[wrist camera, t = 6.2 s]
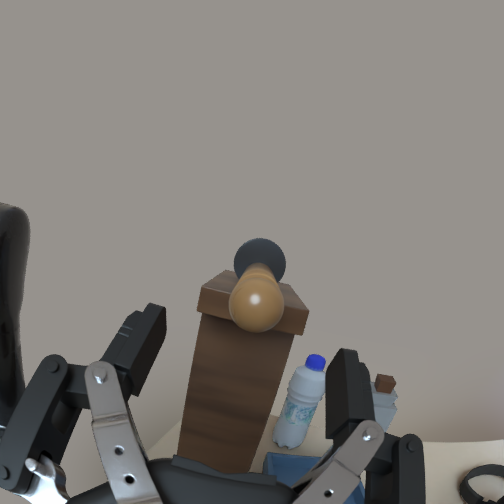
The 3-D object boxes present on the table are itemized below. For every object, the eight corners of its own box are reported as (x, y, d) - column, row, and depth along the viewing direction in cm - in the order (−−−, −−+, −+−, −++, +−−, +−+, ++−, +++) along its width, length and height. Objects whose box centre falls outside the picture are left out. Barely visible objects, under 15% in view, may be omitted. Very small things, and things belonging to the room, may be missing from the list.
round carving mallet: (306, 345, 11) (322, 236, 11) (198, 332, 11) (209, 222, 11) (276, 281, 32) (281, 242, 32) (238, 276, 32) (242, 237, 32)
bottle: (279, 428, 49) (307, 345, 49) (307, 441, 46) (340, 357, 45) (262, 442, 44) (292, 353, 43) (292, 457, 40) (329, 367, 40)
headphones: (524, 507, 7) (457, 469, 27) (499, 538, 6) (439, 497, 26) (552, 472, 9) (495, 449, 29) (534, 501, 8) (481, 475, 28)
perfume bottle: (336, 458, 40) (373, 382, 40) (336, 440, 47) (367, 368, 46) (367, 462, 39) (407, 388, 38) (364, 444, 45) (398, 374, 45)
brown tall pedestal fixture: (234, 534, 21) (322, 313, 20) (157, 516, 21) (188, 282, 20) (240, 470, 34) (297, 286, 34) (180, 456, 35) (217, 267, 34)
